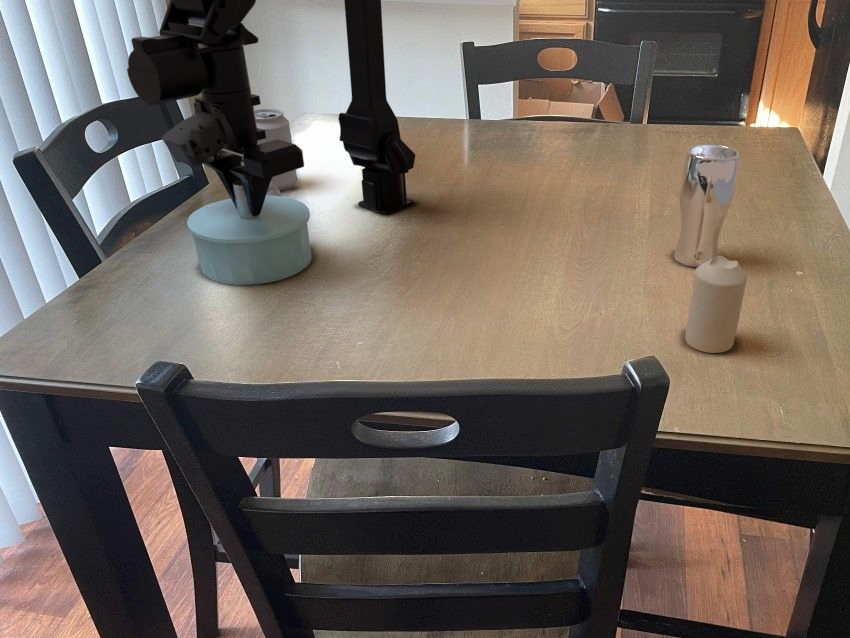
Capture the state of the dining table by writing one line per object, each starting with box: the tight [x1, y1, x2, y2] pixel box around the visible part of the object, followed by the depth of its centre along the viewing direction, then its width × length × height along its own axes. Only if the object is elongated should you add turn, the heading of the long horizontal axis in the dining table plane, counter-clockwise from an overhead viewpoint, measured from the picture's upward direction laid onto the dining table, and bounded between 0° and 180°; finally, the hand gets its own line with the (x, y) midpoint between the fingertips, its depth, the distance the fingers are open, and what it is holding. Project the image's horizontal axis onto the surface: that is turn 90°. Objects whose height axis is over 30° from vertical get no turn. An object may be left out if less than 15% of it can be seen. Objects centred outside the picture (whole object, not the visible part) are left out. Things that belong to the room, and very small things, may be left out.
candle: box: [684, 255, 748, 354], centre depth 85 cm, size 6×6×10 cm
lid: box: [186, 179, 311, 244], centre depth 100 cm, size 15×15×6 cm
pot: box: [192, 222, 312, 286], centre depth 103 cm, size 14×15×6 cm
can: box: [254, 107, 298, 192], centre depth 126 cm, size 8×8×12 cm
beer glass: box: [673, 143, 740, 269], centre depth 103 cm, size 7×7×15 cm
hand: (248, 212), depth 100 cm, fingers closed on lid, 3 cm apart
